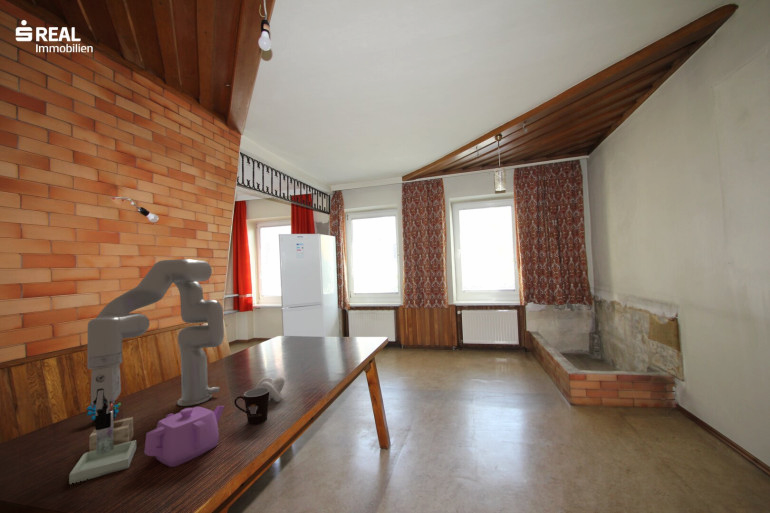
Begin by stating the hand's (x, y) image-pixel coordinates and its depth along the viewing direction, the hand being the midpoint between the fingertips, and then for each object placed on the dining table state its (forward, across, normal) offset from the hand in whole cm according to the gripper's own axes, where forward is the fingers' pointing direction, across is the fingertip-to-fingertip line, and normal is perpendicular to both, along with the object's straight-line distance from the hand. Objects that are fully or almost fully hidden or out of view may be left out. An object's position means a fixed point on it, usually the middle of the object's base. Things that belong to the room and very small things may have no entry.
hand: (105, 424), depth 90 cm
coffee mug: (+11, +4, -40) cm, 42 cm away
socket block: (+11, +13, +1) cm, 17 cm away
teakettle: (+11, -5, -20) cm, 24 cm away
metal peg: (+7, 0, 0) cm, 7 cm away
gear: (+11, +41, +8) cm, 43 cm away
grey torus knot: (+11, +19, -49) cm, 54 cm away
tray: (+11, 0, 0) cm, 11 cm away
